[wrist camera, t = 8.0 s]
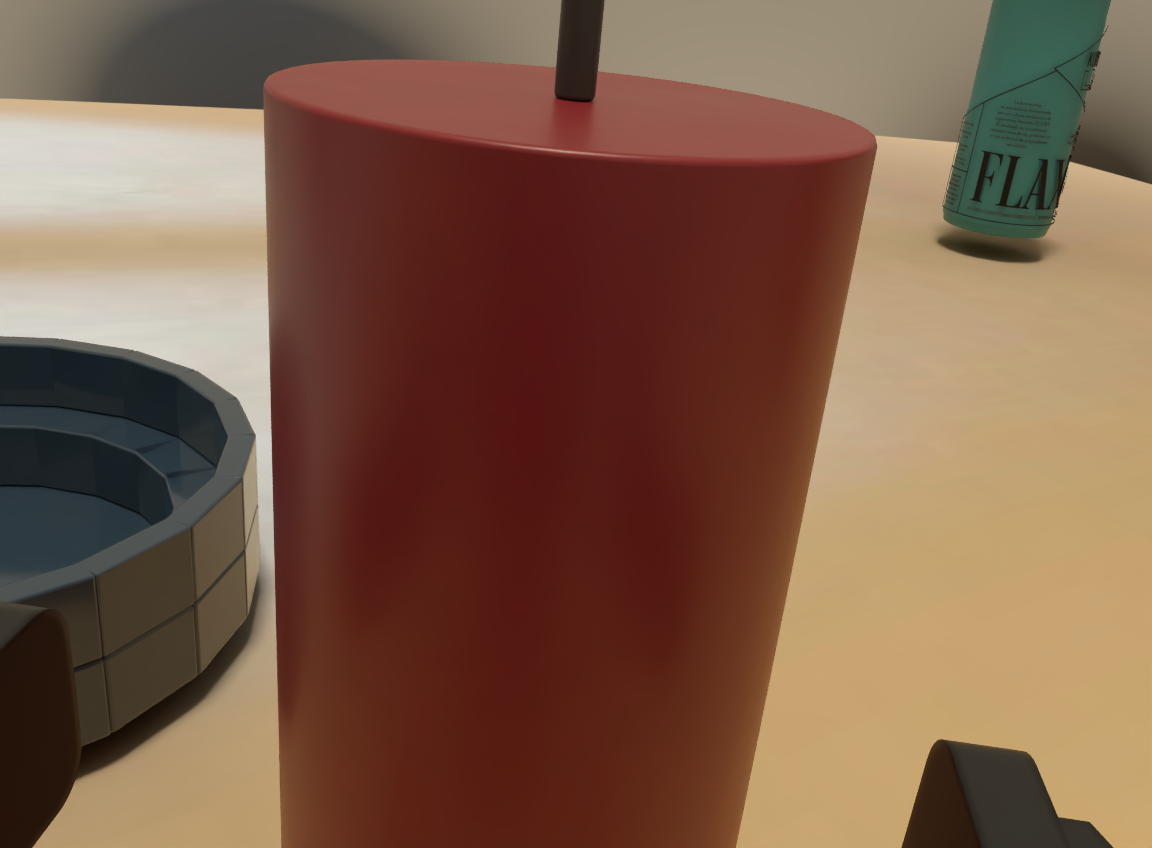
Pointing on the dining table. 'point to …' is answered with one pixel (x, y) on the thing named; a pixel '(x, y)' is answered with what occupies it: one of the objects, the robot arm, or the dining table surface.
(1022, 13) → the beverage bottle
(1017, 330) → the dining table surface
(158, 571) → the bowl
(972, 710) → the dining table surface
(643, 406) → the candle
